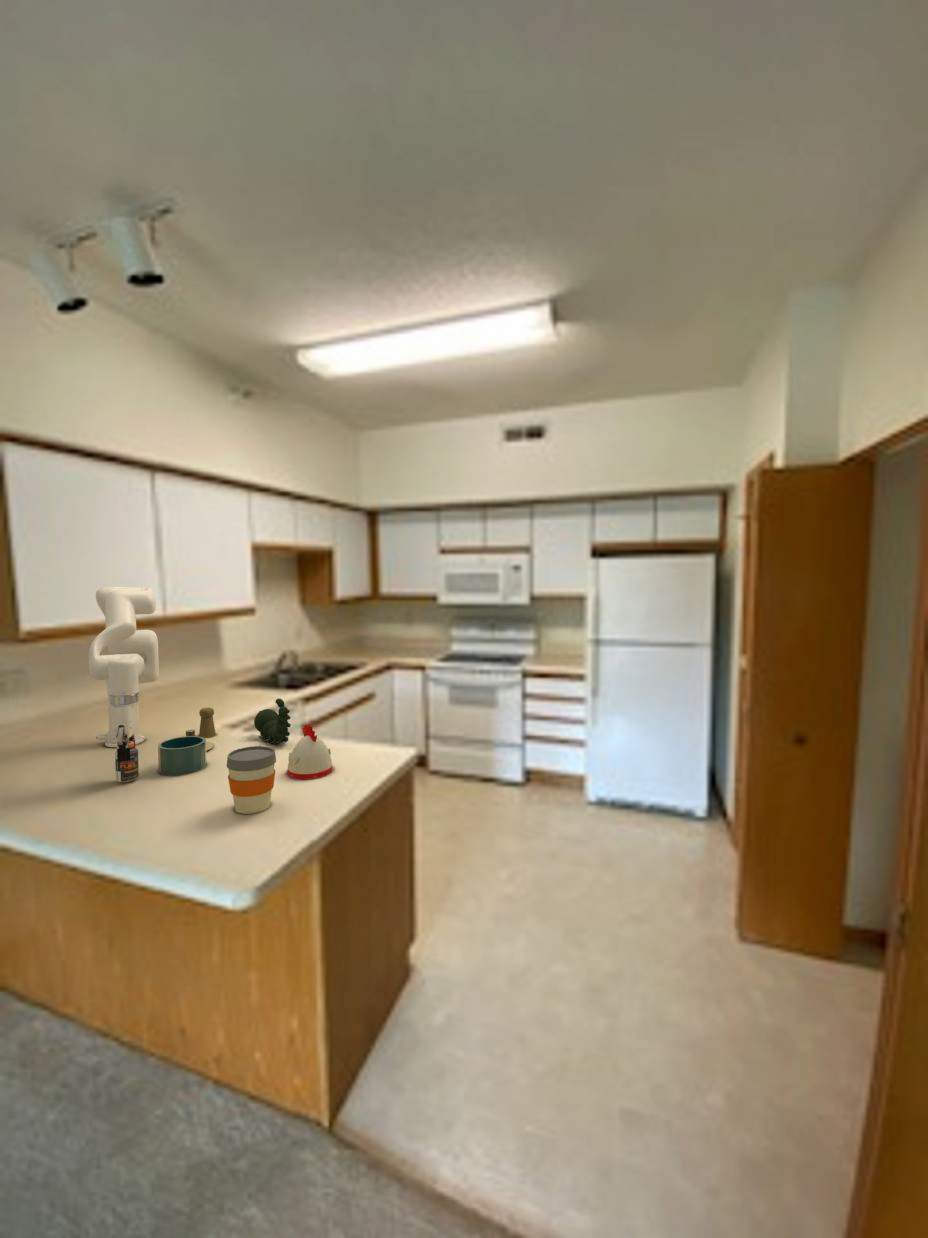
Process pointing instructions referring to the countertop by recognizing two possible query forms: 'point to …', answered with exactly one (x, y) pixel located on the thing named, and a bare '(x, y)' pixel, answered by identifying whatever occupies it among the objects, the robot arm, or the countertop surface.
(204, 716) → the cork
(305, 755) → the kitchen timer
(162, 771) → the tin
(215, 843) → the countertop surface
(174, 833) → the countertop surface
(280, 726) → the toy figurine
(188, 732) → the lid
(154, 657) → the robot arm
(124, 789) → the countertop surface
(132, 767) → the pill bottle
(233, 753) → the reusable coffee cup
